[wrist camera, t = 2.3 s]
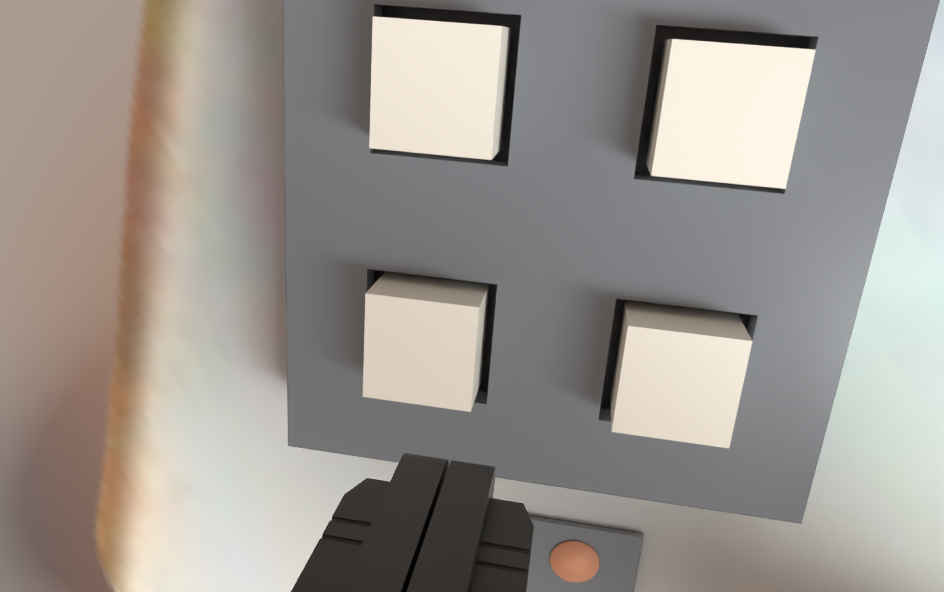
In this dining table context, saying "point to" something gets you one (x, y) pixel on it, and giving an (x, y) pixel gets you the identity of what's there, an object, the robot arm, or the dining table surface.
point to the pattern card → (582, 557)
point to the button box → (592, 238)
